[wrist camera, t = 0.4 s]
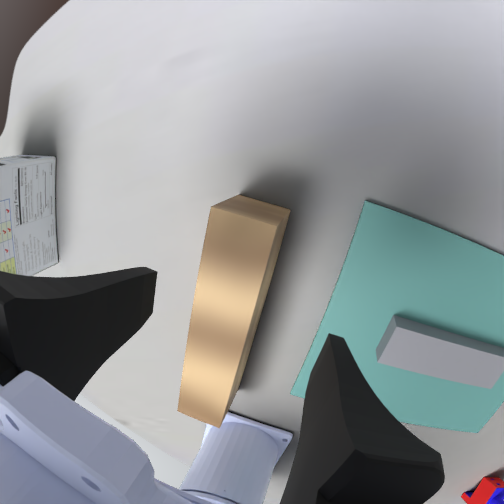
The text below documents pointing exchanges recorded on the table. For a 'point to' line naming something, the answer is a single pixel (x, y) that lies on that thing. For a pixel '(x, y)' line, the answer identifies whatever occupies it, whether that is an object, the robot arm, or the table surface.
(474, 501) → the red blue dreidel
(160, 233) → the table surface
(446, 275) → the board
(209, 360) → the bronze bar
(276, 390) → the table surface
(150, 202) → the table surface
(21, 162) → the light bulb box
